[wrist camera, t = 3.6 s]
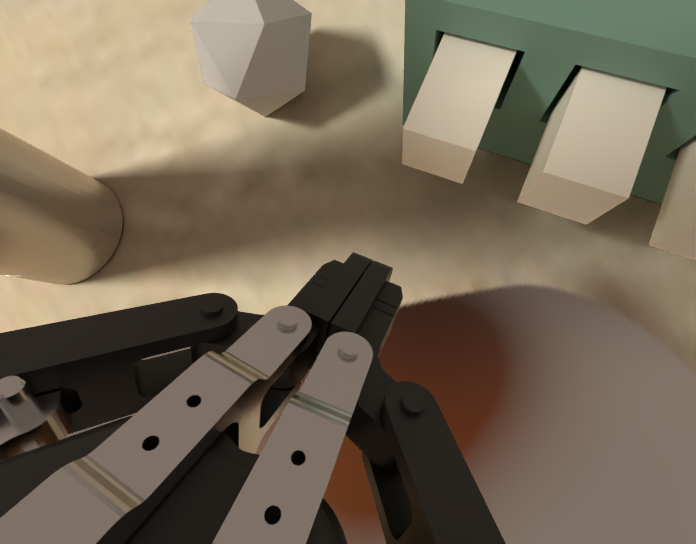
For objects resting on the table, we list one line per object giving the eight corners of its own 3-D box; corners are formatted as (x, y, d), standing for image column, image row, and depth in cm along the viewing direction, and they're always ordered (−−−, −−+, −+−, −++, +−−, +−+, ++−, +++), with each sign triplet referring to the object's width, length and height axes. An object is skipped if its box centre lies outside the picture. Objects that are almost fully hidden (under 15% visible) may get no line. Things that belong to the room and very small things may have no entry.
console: (402, 124, 28) (408, -144, 13) (449, 18, 29) (507, -349, 14) (717, 221, 24) (1324, -6, 8) (757, 91, 25) (1352, -322, 9)
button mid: (516, 201, 21) (542, 171, 17) (551, 111, 21) (583, 64, 18) (585, 224, 20) (628, 198, 16) (619, 130, 21) (667, 84, 17)
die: (337, 117, 30) (333, -36, 23) (243, 147, 26) (207, -30, 19) (281, 94, 34) (265, -40, 28) (194, 116, 30) (151, -36, 24)
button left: (401, 164, 22) (402, 128, 18) (437, 80, 23) (445, 30, 19) (462, 183, 21) (476, 151, 18) (497, 97, 22) (517, 47, 18)
